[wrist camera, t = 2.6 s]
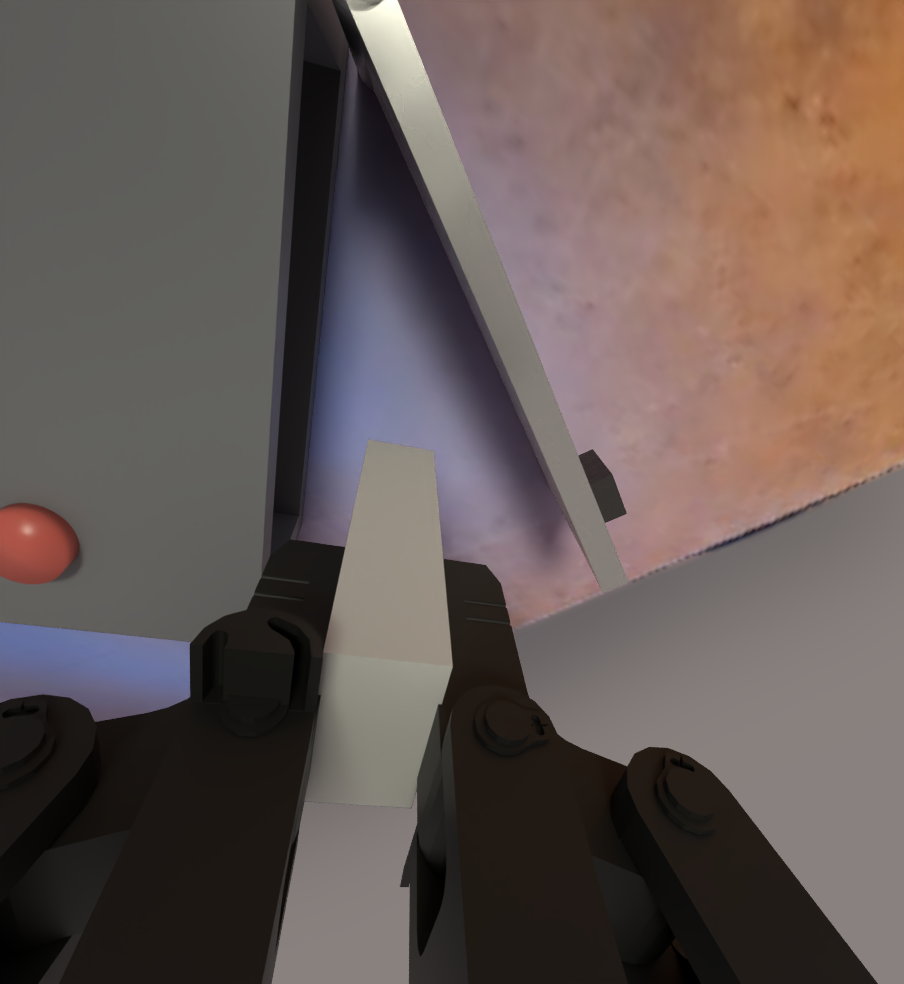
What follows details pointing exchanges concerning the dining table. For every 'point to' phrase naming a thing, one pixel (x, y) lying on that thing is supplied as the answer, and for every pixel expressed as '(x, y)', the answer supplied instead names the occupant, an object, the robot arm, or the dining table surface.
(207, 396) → the grey cabinet body
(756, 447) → the dining table surface
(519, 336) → the side door
